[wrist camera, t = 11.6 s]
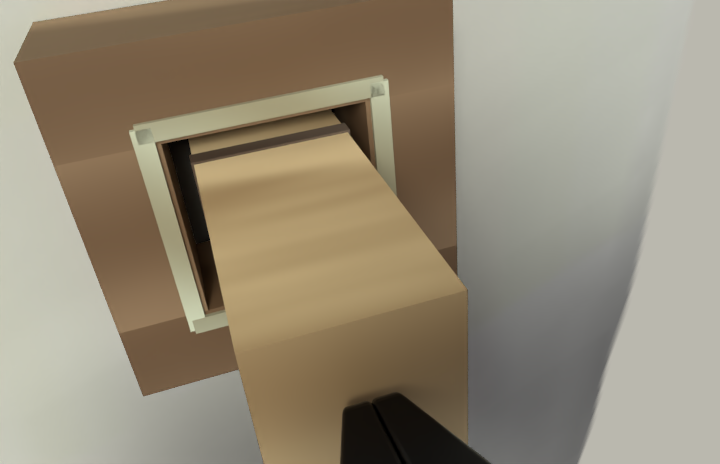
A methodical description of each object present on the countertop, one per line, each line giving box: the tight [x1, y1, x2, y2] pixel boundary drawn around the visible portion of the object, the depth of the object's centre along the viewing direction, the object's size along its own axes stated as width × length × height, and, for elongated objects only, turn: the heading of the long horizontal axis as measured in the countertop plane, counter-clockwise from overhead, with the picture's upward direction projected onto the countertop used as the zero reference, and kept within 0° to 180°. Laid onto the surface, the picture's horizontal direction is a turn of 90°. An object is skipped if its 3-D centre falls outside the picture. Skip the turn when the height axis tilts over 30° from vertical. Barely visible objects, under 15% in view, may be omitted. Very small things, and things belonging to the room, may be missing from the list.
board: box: [14, 0, 457, 396], centre depth 16 cm, size 8×8×3 cm
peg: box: [188, 109, 468, 464], centre depth 13 cm, size 3×3×9 cm
